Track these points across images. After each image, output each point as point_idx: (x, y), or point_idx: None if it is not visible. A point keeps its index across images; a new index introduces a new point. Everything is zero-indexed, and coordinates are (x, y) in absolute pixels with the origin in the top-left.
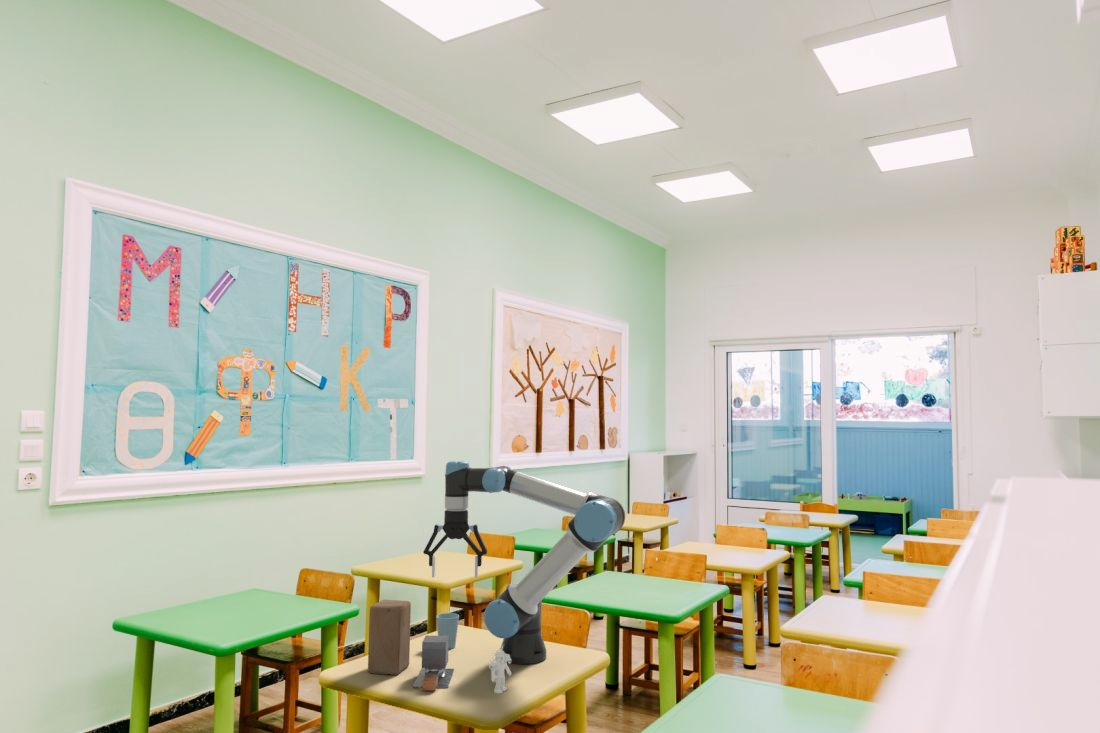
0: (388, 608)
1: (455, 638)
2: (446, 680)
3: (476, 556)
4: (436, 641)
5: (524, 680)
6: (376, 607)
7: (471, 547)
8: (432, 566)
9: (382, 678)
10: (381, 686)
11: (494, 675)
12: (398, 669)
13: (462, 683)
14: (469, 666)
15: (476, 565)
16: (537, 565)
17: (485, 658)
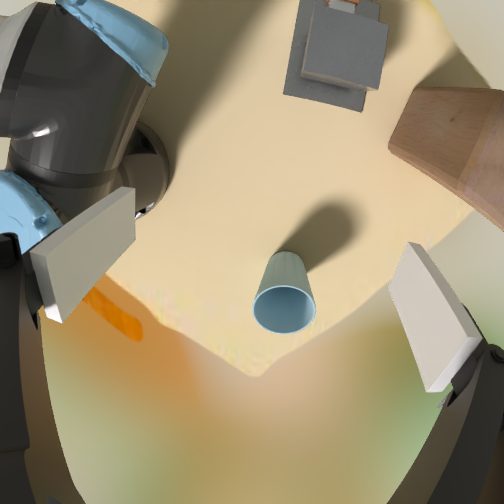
0: None
1: (266, 268)
2: (305, 18)
3: (41, 272)
4: (345, 18)
5: None
6: None
7: (15, 336)
8: (447, 284)
9: (440, 83)
10: (439, 38)
11: None
12: (416, 90)
13: (268, 6)
14: (243, 115)
15: (81, 218)
16: None
17: (201, 169)
